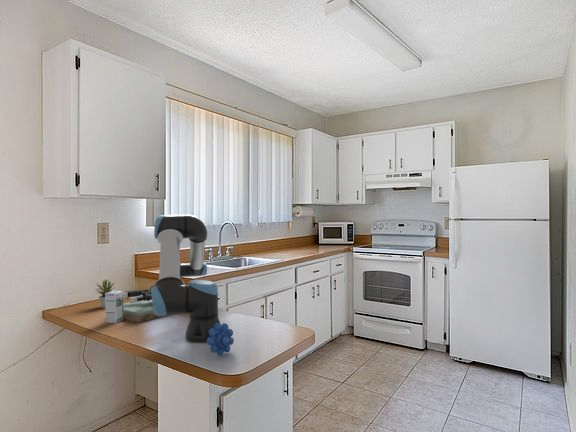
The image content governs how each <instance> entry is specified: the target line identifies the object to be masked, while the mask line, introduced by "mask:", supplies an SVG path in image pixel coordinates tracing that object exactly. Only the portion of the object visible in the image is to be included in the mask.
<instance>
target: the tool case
mask: <svg viewBox="0 0 576 432" xmlns="http://www.w3.org/2000/svg"><path fill="white" fill-rule="evenodd" d="M123 316H124V320H128V321H131V322H134V323H142V322H146V321H149V320H152V319H153V320H154V319H156V318H160V317H163V316H164V315H160V316H157V315H155V314H154V312H153V313H149V314H146V315H142V316H136V315H132V314H128V313H123ZM164 317H165V316H164Z"/></svg>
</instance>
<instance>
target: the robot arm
mask: <svg viewBox="0 0 576 432" xmlns="http://www.w3.org/2000/svg"><path fill="white" fill-rule="evenodd" d="M153 231H154V232H153V235H154V239H156V240H157V241H158V243H159V244H160V248H159V249H160V251H159V271H158V272H159V273H158V274H159V275H158V279H157V281H156V282H155V284H153V285H151V286H150V288H149V289H147V288H146V289H144V288H143V289H138V290H129V291H125V292H123V300H124V299H128V298H129V302H130V303H136V302H140V301H143V300H144V301H146V300H147V301H150V300H152V303H153V312H154V314H155V315H157V316H160V315H164V317H165V316H170V315H171V316H172V315H183V314H184V315H185V314H189V321H188V325H187V328H186V331H185V340H186V341H188V342H192V343H207V339H208V338H209V337H211V336H210V335H209V330H210V329H211V328H214V326H215V324H216V323H220V324H221V321H220V318H219V297H218V296H219V292H218V291H219V290H218V284H217V283H216V282H214V281H211V280H203V279H191V280H189V282H188V284H186V283H185V281H183V279H182V278H185V277H186V278H187V277H201V276H207V273H208V267H207V266H208V265H207V263H206V262H204V261H205V245H206V244H205V243H206V240H207V239H208V229H207V226H206V225H205V223H204V222H203V221H202V220H201V219H200V218H199V217H197V216H195V215H193V214H164V215H163V214H162V215H158V216H157V217H156V218H155V221H154V230H153ZM183 239H188V240H189V242H190V243H189V263H181V253H180V252H181V249H180V248H181V245H180V244H181V243H182V242H183ZM160 317H161V316H160Z"/></svg>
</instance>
